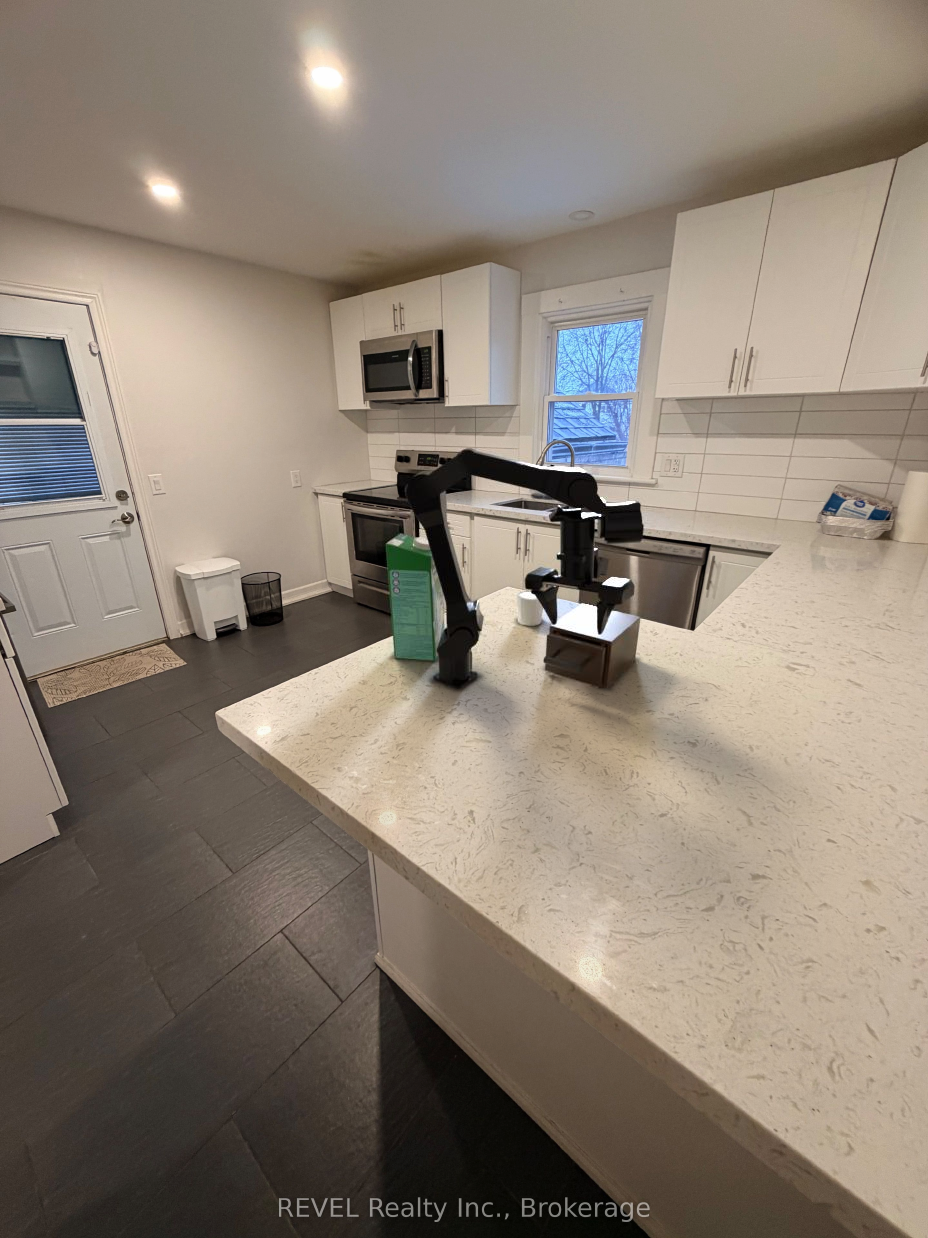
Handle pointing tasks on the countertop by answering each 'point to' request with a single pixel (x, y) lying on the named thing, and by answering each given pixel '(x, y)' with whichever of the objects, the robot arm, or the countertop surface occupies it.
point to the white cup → (528, 609)
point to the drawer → (576, 658)
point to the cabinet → (604, 636)
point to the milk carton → (414, 598)
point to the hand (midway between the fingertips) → (576, 628)
